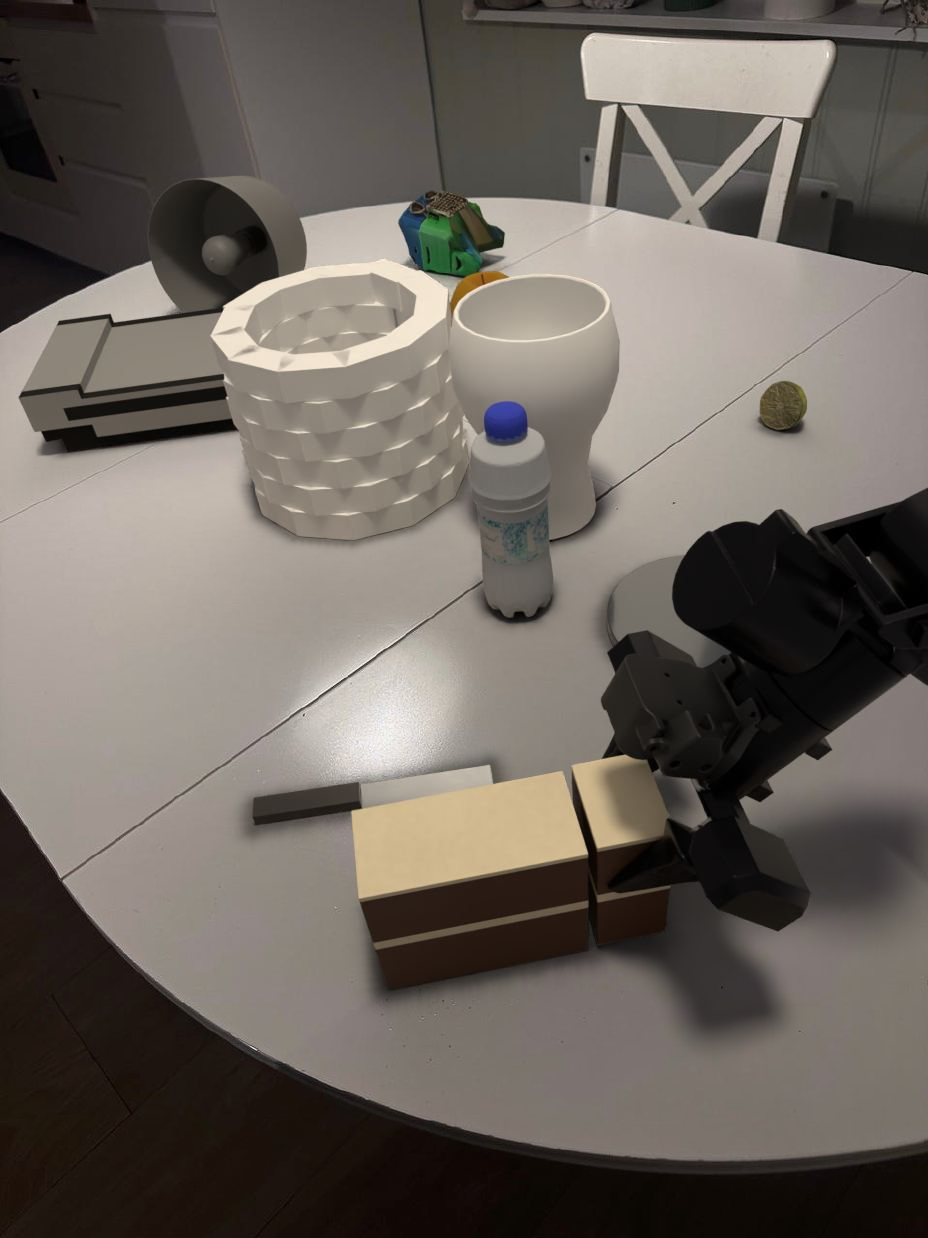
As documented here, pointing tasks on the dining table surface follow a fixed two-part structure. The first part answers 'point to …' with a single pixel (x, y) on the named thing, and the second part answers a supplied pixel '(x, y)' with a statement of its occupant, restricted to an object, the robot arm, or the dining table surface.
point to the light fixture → (222, 239)
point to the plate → (656, 611)
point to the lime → (783, 405)
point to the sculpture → (448, 233)
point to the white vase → (541, 373)
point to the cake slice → (619, 843)
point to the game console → (128, 381)
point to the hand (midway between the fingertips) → (598, 844)
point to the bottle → (512, 510)
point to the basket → (344, 397)
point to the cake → (472, 879)
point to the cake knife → (365, 794)
